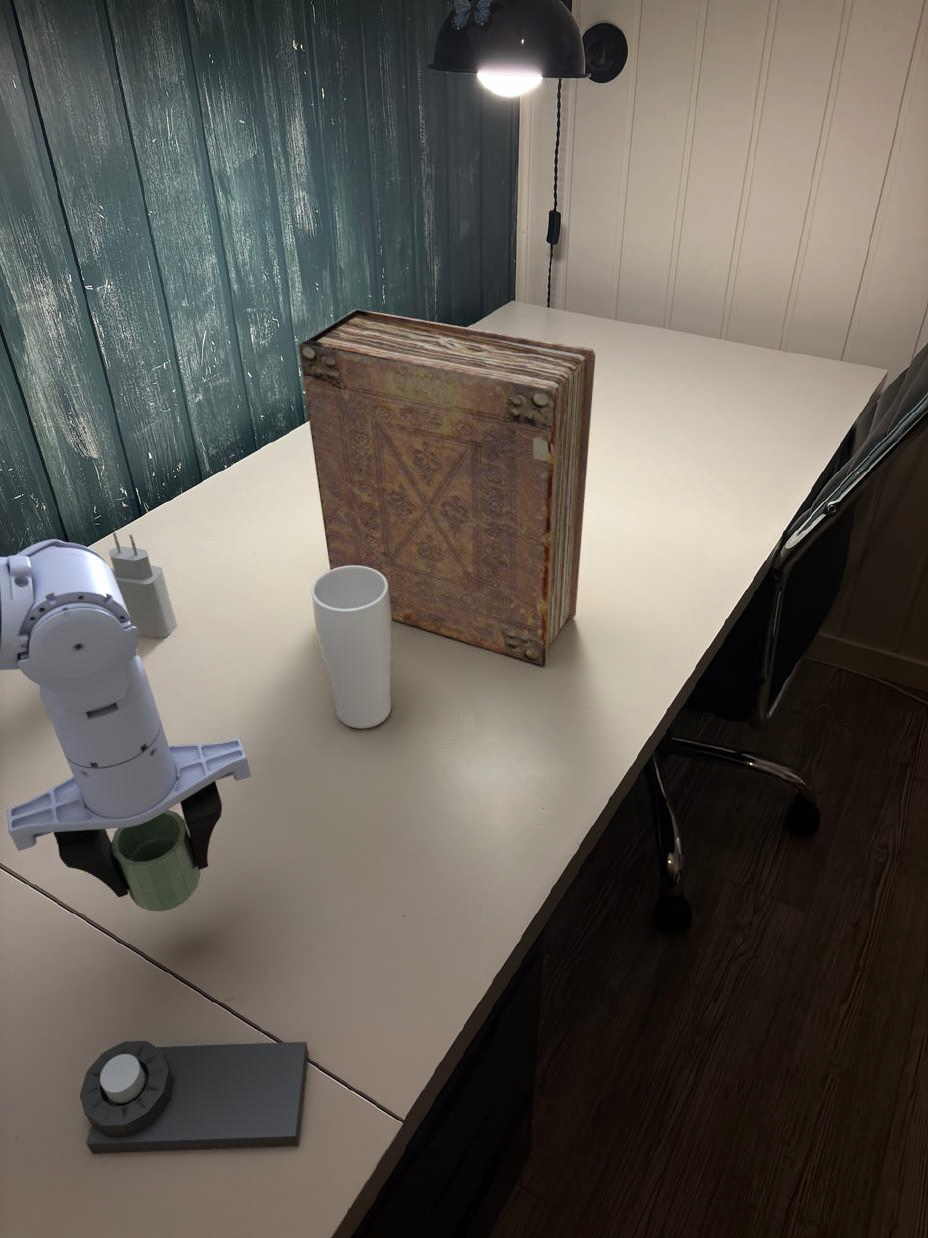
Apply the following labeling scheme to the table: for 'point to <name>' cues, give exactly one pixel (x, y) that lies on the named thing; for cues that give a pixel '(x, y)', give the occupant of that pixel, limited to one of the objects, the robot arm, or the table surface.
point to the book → (454, 472)
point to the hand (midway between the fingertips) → (162, 871)
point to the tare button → (122, 1078)
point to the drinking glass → (355, 641)
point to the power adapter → (143, 590)
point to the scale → (200, 1098)
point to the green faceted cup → (157, 862)
